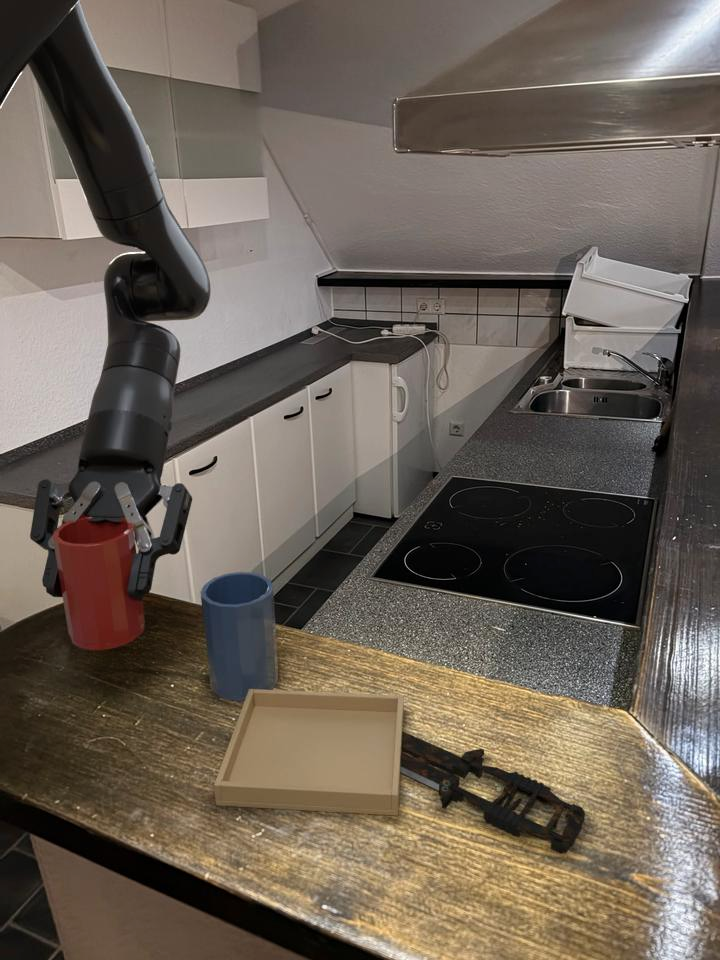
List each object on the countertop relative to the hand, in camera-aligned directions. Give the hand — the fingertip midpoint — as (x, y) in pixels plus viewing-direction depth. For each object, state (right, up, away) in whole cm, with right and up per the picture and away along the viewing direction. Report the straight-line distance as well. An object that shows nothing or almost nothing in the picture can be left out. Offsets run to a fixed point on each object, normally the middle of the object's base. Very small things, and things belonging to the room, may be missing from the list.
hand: (94, 596), depth 66 cm
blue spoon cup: (+12, -9, +8) cm, 17 cm away
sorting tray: (+19, -13, -2) cm, 23 cm away
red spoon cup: (0, -4, +3) cm, 5 cm away
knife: (+28, -14, -3) cm, 32 cm away
